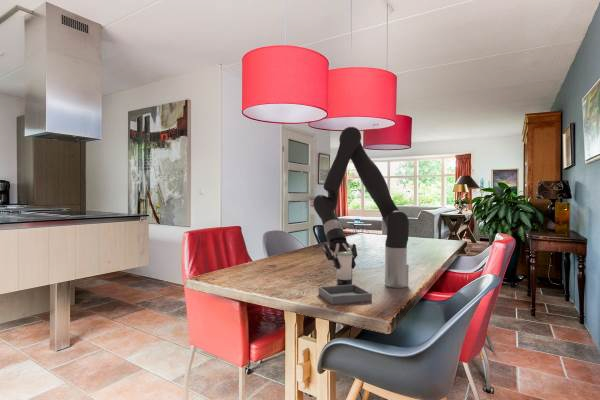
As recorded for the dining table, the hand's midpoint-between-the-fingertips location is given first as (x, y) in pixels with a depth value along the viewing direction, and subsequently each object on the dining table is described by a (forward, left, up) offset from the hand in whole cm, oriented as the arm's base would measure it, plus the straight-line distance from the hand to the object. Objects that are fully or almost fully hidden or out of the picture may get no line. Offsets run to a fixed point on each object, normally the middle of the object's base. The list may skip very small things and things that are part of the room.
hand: (346, 267), depth 132 cm
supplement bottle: (-8, -19, -12) cm, 24 cm away
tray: (0, -2, -12) cm, 12 cm away
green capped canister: (0, -2, -4) cm, 5 cm away
